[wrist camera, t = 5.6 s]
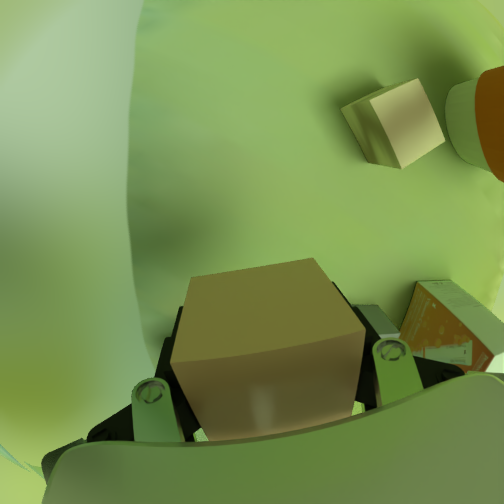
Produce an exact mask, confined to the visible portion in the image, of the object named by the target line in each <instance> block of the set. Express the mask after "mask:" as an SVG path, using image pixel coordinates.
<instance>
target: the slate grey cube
mask: <svg viewBox="0 0 504 504" xmlns="http://www.w3.org/2000/svg"><path fill="white" fill-rule="evenodd" d="M351 306H352V307H353V306H357V307H358V308H359V309H360V311H361V312H362V313H363V315H364V316H365V317H366V319H367V320H368V321H369V323H370V324H371V325H372V327H373V328H374V329H375V331H376V332H377V333H378V335H379V336H380V337H381V339H383V338H387V337H394V338H399V336H400V334H401V333H400V332H399V331H398V329H397V328H396V327H395V326H394V324H393V323H392V322H391V321H390V320H389V318H388V317H387V316H386V315H385V314H384V312H383V311H382V310H381V309H380V308H379V306H378V305H351Z"/></svg>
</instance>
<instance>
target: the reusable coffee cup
mask: <svg viewBox="0 0 504 504" xmlns="http://www.w3.org/2000/svg"><path fill="white" fill-rule="evenodd" d="M445 120H446V126H447V131H448V134H449V137H450V140H451V142H452V145H453V147H454V149H455V150H456V152H457V153H458V155H459V156H460V157H461V158H462V159H463V160H464V161H465V162H468V163H470V164H472V165H475V166H477V167H480V168H482V169H484V170H487V171H489V172H491V173H493V174H494V175H495V176H496V178H497V179H498V180H500V181H502V182H504V66H501V67H497V68H494V69H490V70H487V71H485V72H483V73H482V74H481V76H480V77H479V78H476V79H473V80H469V81H466V82H463V83H460V84H457V85H455V86H453V87H452V88H451V89H450V91H449V93H448V95H447V98H446V103H445Z"/></svg>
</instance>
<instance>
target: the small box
mask: <svg viewBox="0 0 504 504" xmlns="http://www.w3.org/2000/svg"><path fill="white" fill-rule="evenodd" d="M399 332H400V333H401V334H400V336H399V339H401V340H403V341H405V342H406V343H407V344H408V346H409V347H410V350H411V352H412V355H413V356H418V357H422V358H426V359H431V360H435V361H440V362H445V363H449V364H453V365H456V366H458V367H460V368H461V369H462V370H463V371H464V373H467V372H468V371H479V372H493V373H504V323H503V322H501V320H499V319H498V318H497V317H496V316H495V315H494V314H493V313H492V312H490V311H489V310H488V309H487V308H486V307H485V306H483V305H482V304H481V303H480V302H479V301H477V300H476V299H475V298H474V297H473V296H471V295H470V294H469V293H467V292H466V291H465V290H464V289H462V288H461V287H460V286H458V285H457V284H456V283H454V282H453V281H451V280H449V281H448V280H447V281H418V282H417V283H416V287H415V290H414V293H413V297H412V300H411V302H410V305H409V308H408V311H407V313H406V316H405V319H404V321H403V323H402V326H401V328H400V331H399Z"/></svg>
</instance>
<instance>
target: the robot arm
mask: <svg viewBox="0 0 504 504" xmlns="http://www.w3.org/2000/svg"><path fill="white" fill-rule="evenodd" d="M332 283H333V285H334V286H335V287H336V289H337V290H338V291H339V293H340V294H341V295H342V297H343V298H344V300H345V301H346V302H347V304H348V305H349V306H350V308H351V309H352V311H353V312H354V313H355V315H356V316H357V317H358V319H359V320H360V322H361V323H362V324H363V326H364V327H365V329H366V332H365V340H364V348H363V355H362V362H361V368H360V374H359V380H358V385H357V390H356V395H355V400H354V401H358V402H361V403H362V404H361V406H362V413H360V414H357V415H353V416H350V417H347V418H343V419H340V420H336V421H332V422H328V423H325V424H321V425H316V426H312V427H308V428H303V429H298V430H293V431H288V432H283V433H277V434H271V435H265V436H258V437H250V438H241V439H232V440H220V441H203V442H197V438H196V435H195V432H196V431H197V430H198V429H200V428H202V427H201V425H200V424H199V422H198V420H197V418H196V416H195V414H194V412H193V410H192V408H191V406H190V404H189V402H188V400H187V398H186V396H185V394H184V392H183V390H182V388H181V386H180V384H179V382H178V380H177V377H176V375H175V373H174V371H173V369H172V366H171V364H170V360H171V356H172V352H173V347H174V343H175V339H176V335H177V331H178V326H179V322H180V318H181V314H182V310H183V306H180V307H179V310H178V314H177V318H176V321H175V325H174V329H173V333H172V337H166V338H165V340H164V343H163V347H162V350H161V354H160V357H159V361H158V365H157V369H156V372H155V376H154V378H148V379H145V380H142V381H141V382H139V383H138V384H137V385H136V386H135V387H134V389H133V390H132V396H131V398H132V403H131V404H130V405H128V406H127V407H125V408H123V409H122V410H120V411H119V412H117V413H116V414H114V415H112V416H111V417H109V418H108V419H106V420H104V421H103V422H101V423H100V424H98V425H97V426H95V427H94V428H92V429H91V431H90V432H89V433H88V436H87V439H86V440H84V439H83V438H81V439H78V440H76V441H74V442H72V443H70V444H67V445H65V446H63V447H61V448H58V449H56V450H54V451H52V452H49V453H47V454H46V455H45V456H44V457H43V459H42V462H41V465H42V471H43V474H44V478H45V481H46V484H47V487H46V490H45V494H44V497H43V500H42V504H504V373H493V372H479V371H468V372H467V373H464V371H463V370H462V369H461V368H460V367H458V366H456V365H453V364H449V363H445V362H440V361H435V360H431V359H426V358H422V357H418V356H413V355H412V352H411V350H410V347H409V346H408V344H407V343H406V342H405V341H403V340H401V339H399V338H394V337H387V338H383V339H381V337H380V336H379V335H378V333H377V332H376V331H375V329H374V328H373V327H372V325H371V324H370V323H369V321H368V320H367V319H366V317H365V316H364V315H363V313H362V312H361V311H360V309H359V308H358V307H357V306H353V307H352V306H351V304H350V303H349V302H348V300H347V299H346V298H345V296H344V295H343V294H342V292H341V291H340V290H339V288H338V287H337V286H336V284H335V283H334V282H332Z"/></svg>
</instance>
